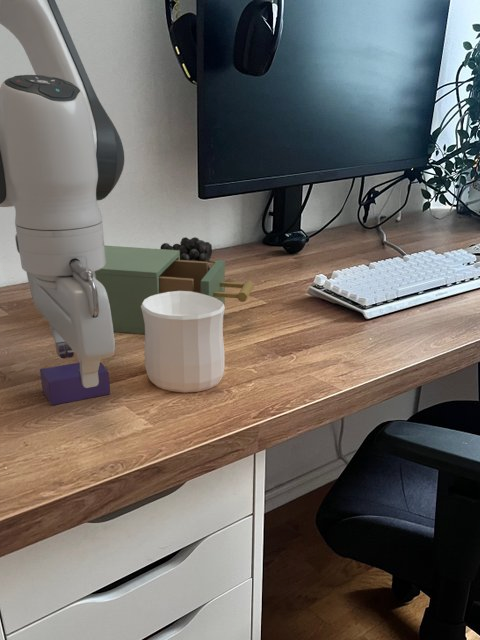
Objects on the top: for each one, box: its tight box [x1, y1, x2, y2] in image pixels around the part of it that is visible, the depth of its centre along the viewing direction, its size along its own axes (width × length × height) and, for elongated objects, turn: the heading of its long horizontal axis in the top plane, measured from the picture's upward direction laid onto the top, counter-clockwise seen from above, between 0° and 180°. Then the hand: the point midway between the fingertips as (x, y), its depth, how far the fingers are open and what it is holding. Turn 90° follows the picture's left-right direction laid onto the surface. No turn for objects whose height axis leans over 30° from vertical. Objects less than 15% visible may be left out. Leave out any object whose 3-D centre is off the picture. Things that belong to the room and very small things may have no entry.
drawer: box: [159, 259, 255, 308], centre depth 102 cm, size 18×11×7 cm, turn 81°
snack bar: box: [39, 361, 111, 406], centre depth 81 cm, size 7×4×3 cm, turn 119°
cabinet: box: [95, 244, 180, 335], centre depth 103 cm, size 15×13×9 cm
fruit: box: [159, 236, 216, 271], centre depth 117 cm, size 9×8×15 cm
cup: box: [141, 291, 226, 394], centre depth 84 cm, size 10×10×10 cm
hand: (76, 369), depth 80 cm, fingers open, 8 cm apart
